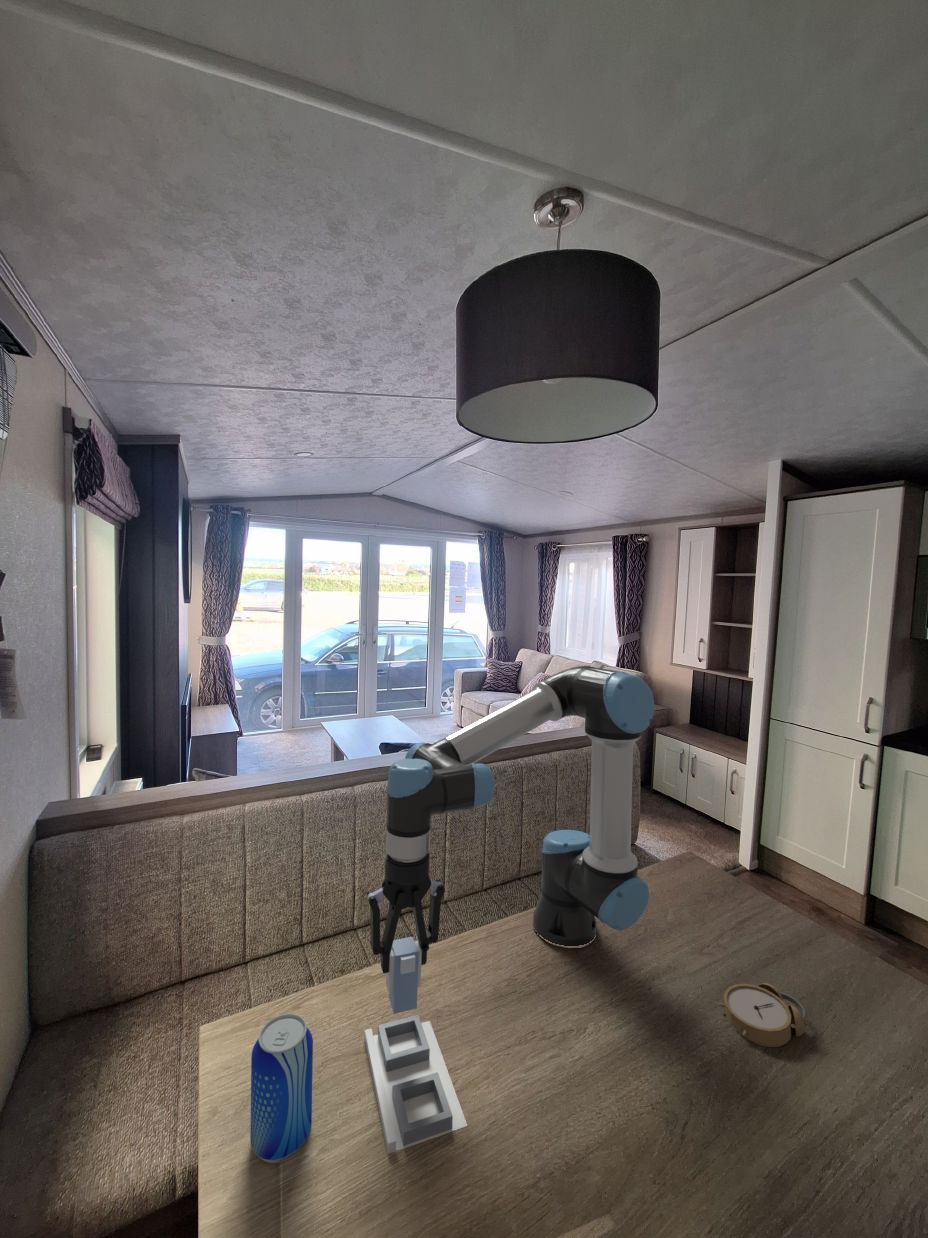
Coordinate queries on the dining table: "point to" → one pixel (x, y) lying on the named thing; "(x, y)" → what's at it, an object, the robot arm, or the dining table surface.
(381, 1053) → the panel
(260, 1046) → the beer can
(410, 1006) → the plug
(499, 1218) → the dining table surface
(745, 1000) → the alarm clock
